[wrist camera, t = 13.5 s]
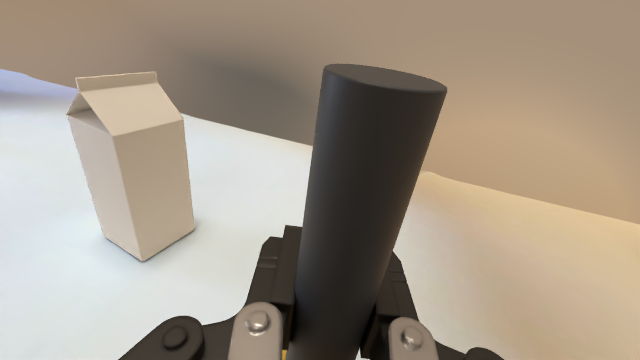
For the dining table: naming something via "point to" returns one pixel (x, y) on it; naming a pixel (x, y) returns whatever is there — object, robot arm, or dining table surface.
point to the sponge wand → (356, 200)
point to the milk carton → (133, 160)
